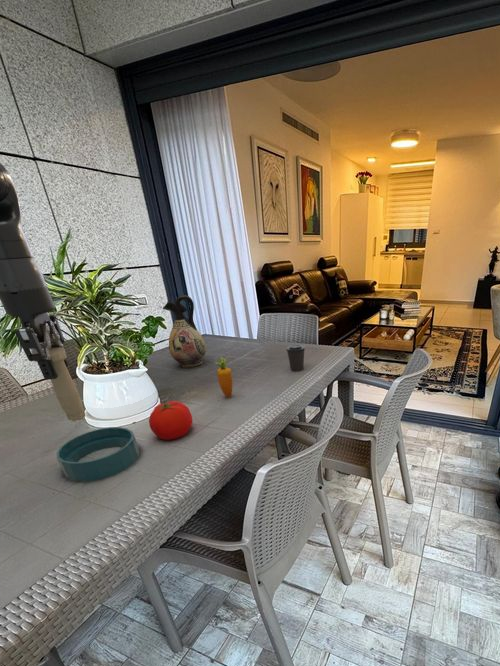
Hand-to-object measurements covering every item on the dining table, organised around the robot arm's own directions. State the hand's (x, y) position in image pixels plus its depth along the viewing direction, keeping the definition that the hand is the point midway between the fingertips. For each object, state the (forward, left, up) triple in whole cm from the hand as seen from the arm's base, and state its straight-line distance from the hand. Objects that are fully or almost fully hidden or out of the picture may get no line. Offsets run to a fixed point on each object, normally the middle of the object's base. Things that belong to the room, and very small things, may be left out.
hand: (57, 372), depth 72 cm
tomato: (+16, +17, -28) cm, 36 cm away
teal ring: (-1, +8, -28) cm, 29 cm away
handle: (0, 0, -11) cm, 11 cm away
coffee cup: (+63, +59, -28) cm, 91 cm away
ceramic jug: (+20, +83, -28) cm, 90 cm away
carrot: (+33, +38, -28) cm, 57 cm away
